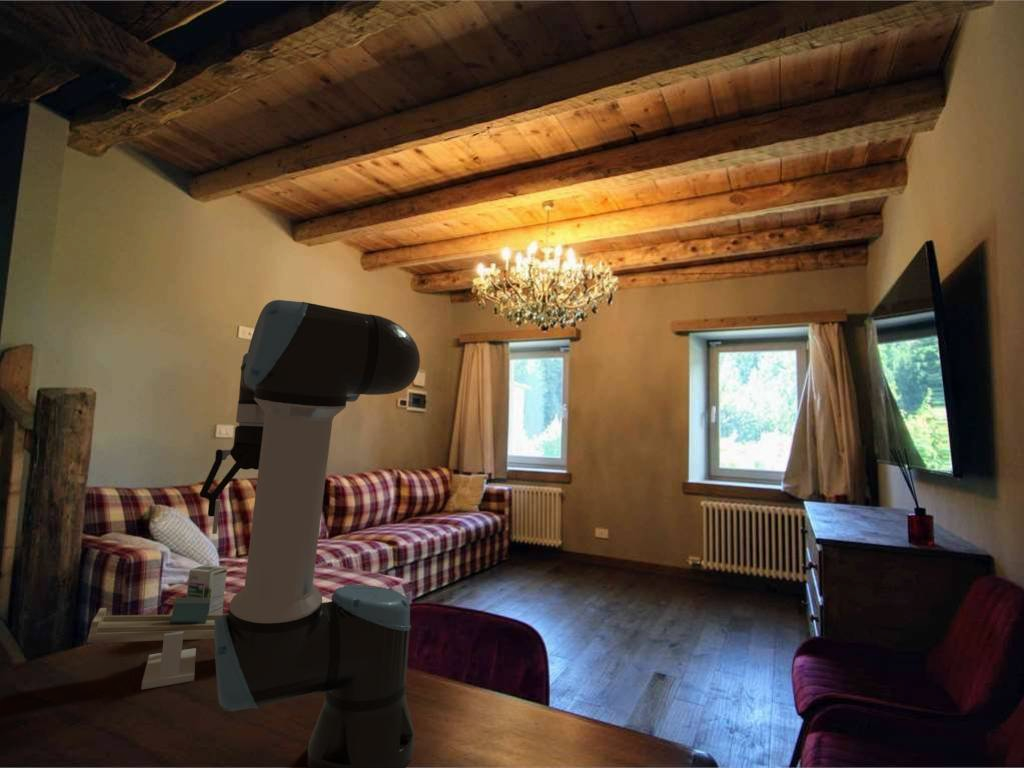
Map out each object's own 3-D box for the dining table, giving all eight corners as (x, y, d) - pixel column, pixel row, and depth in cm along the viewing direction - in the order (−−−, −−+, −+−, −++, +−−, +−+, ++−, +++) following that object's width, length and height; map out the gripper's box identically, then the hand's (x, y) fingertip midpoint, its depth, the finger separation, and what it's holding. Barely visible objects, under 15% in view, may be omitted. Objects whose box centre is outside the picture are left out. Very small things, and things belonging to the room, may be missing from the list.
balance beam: (246, 654, 101) (253, 619, 103) (81, 662, 89) (91, 622, 90) (243, 638, 109) (250, 606, 110) (91, 643, 96) (100, 607, 97)
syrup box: (180, 636, 115) (187, 569, 117) (200, 626, 121) (207, 563, 122) (202, 638, 114) (209, 571, 116) (221, 629, 120) (228, 565, 121)
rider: (204, 627, 100) (210, 603, 101) (168, 628, 97) (174, 603, 98) (204, 620, 104) (210, 597, 104) (170, 621, 101) (175, 597, 102)
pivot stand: (193, 680, 95) (198, 632, 96) (141, 689, 91) (147, 639, 92) (195, 654, 106) (199, 611, 107) (148, 660, 102) (153, 616, 103)
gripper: (309, 428, 118) (300, 525, 116) (193, 422, 107) (180, 531, 104) (315, 428, 112) (306, 531, 109) (192, 422, 100) (179, 537, 98)
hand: (245, 531), depth 107 cm, fingers open, 10 cm apart
